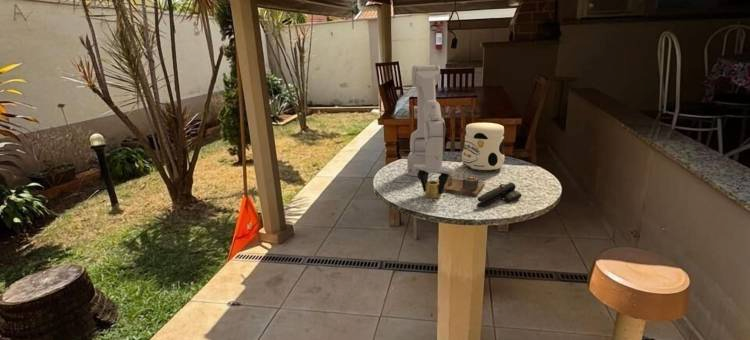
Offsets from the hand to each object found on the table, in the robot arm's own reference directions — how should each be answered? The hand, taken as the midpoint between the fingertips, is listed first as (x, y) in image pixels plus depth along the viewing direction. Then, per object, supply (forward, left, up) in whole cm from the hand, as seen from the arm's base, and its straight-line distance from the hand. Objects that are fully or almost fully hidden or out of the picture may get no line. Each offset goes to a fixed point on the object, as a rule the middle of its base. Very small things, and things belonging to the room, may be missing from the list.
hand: (433, 192), depth 136 cm
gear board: (+6, +11, -1) cm, 13 cm away
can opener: (+21, +4, -2) cm, 22 cm away
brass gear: (0, 0, -1) cm, 1 cm away
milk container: (+8, +38, -2) cm, 39 cm away
